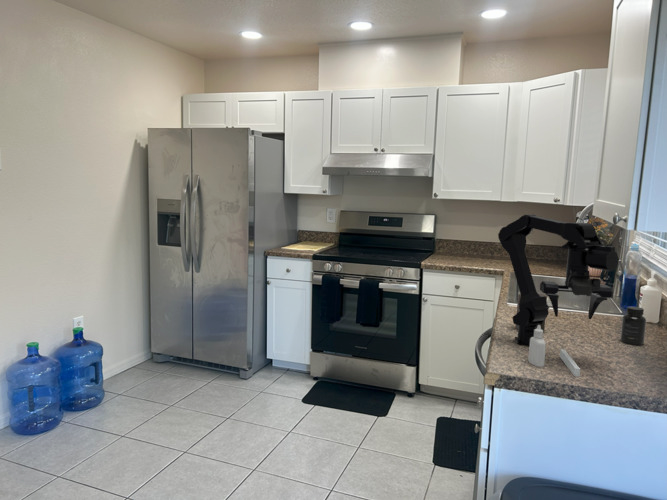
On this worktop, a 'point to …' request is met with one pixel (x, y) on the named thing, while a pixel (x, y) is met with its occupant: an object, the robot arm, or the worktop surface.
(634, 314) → the supplement bottle
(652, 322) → the worktop surface
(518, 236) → the robot arm
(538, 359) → the eye dropper bottle
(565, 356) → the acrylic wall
